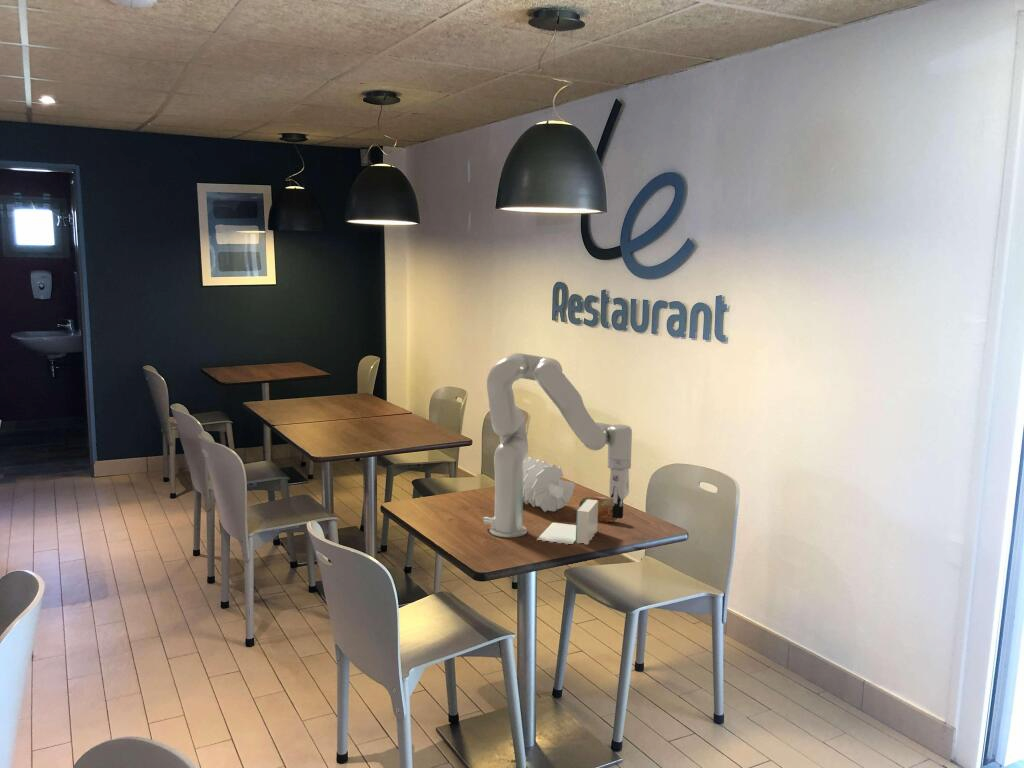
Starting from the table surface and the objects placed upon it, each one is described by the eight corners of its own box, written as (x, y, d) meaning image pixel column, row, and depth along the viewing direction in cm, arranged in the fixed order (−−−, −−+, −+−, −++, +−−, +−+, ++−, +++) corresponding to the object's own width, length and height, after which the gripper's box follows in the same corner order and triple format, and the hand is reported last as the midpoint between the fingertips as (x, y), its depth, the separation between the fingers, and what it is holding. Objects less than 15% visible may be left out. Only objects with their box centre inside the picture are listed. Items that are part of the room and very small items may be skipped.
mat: (536, 540, 266) (536, 539, 265) (552, 523, 283) (552, 522, 283) (572, 545, 262) (572, 543, 262) (585, 527, 280) (586, 526, 280)
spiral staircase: (548, 526, 293) (506, 506, 312) (581, 499, 301) (539, 481, 321) (533, 485, 285) (492, 467, 305) (569, 459, 294) (526, 443, 313)
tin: (578, 517, 291) (579, 495, 290) (581, 515, 293) (582, 493, 292) (618, 524, 284) (618, 501, 283) (621, 522, 287) (622, 499, 285)
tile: (575, 543, 264) (576, 510, 262) (585, 530, 277) (586, 499, 276) (587, 544, 263) (588, 511, 261) (597, 531, 276) (598, 500, 274)
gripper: (626, 469, 255) (624, 525, 257) (634, 458, 269) (633, 512, 271) (603, 467, 257) (601, 522, 260) (612, 457, 271) (611, 509, 274)
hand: (617, 517), depth 266 cm, fingers closed
